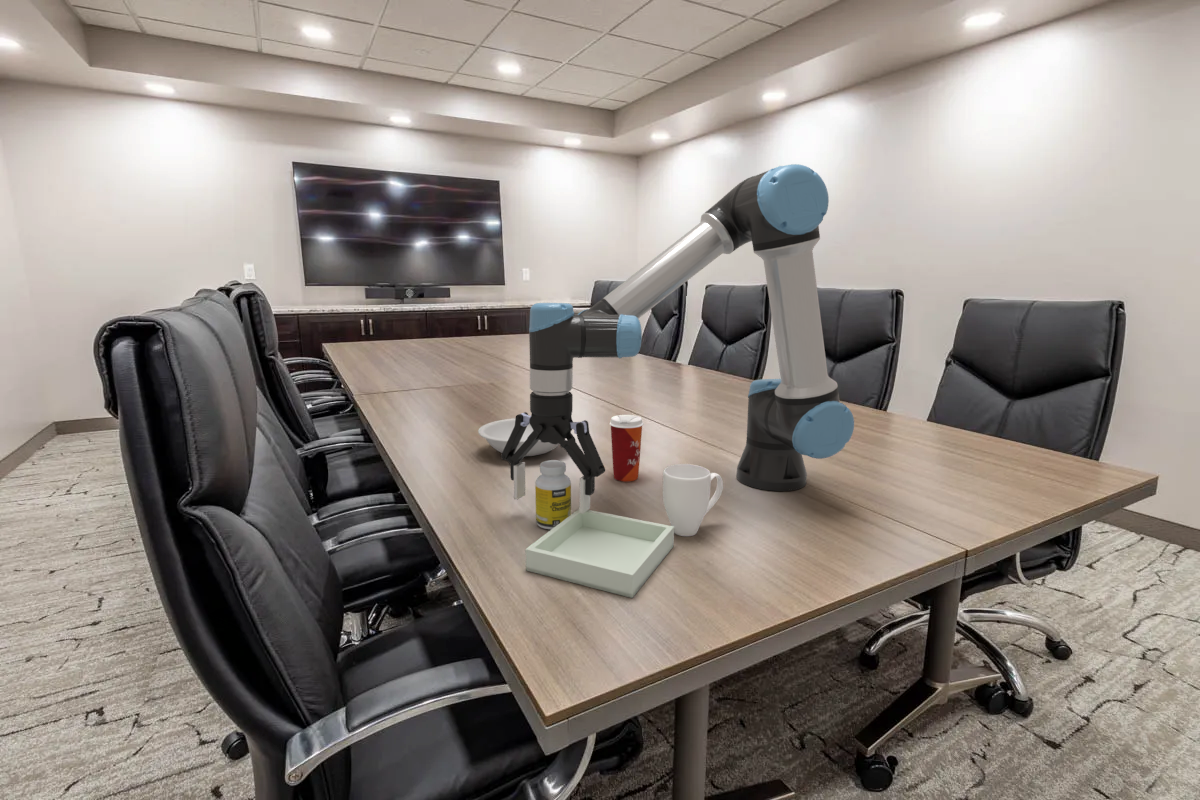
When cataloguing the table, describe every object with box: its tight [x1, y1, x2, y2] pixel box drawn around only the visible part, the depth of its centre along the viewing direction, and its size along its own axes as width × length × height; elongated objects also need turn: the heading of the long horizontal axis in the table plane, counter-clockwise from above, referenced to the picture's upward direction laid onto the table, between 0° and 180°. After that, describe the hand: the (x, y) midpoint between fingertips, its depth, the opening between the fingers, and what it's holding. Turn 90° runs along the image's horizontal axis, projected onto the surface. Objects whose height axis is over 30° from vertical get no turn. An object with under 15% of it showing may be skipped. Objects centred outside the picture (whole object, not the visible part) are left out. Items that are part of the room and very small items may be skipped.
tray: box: [524, 508, 675, 599], centre depth 93 cm, size 18×18×4 cm
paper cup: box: [608, 414, 645, 483], centre depth 130 cm, size 8×8×14 cm
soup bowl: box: [477, 417, 573, 457], centre depth 149 cm, size 24×24×7 cm
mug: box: [662, 463, 724, 537], centre depth 103 cm, size 12×8×11 cm
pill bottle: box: [534, 459, 572, 531], centre depth 106 cm, size 6×6×12 cm
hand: (551, 504), depth 106 cm, fingers open, 13 cm apart
